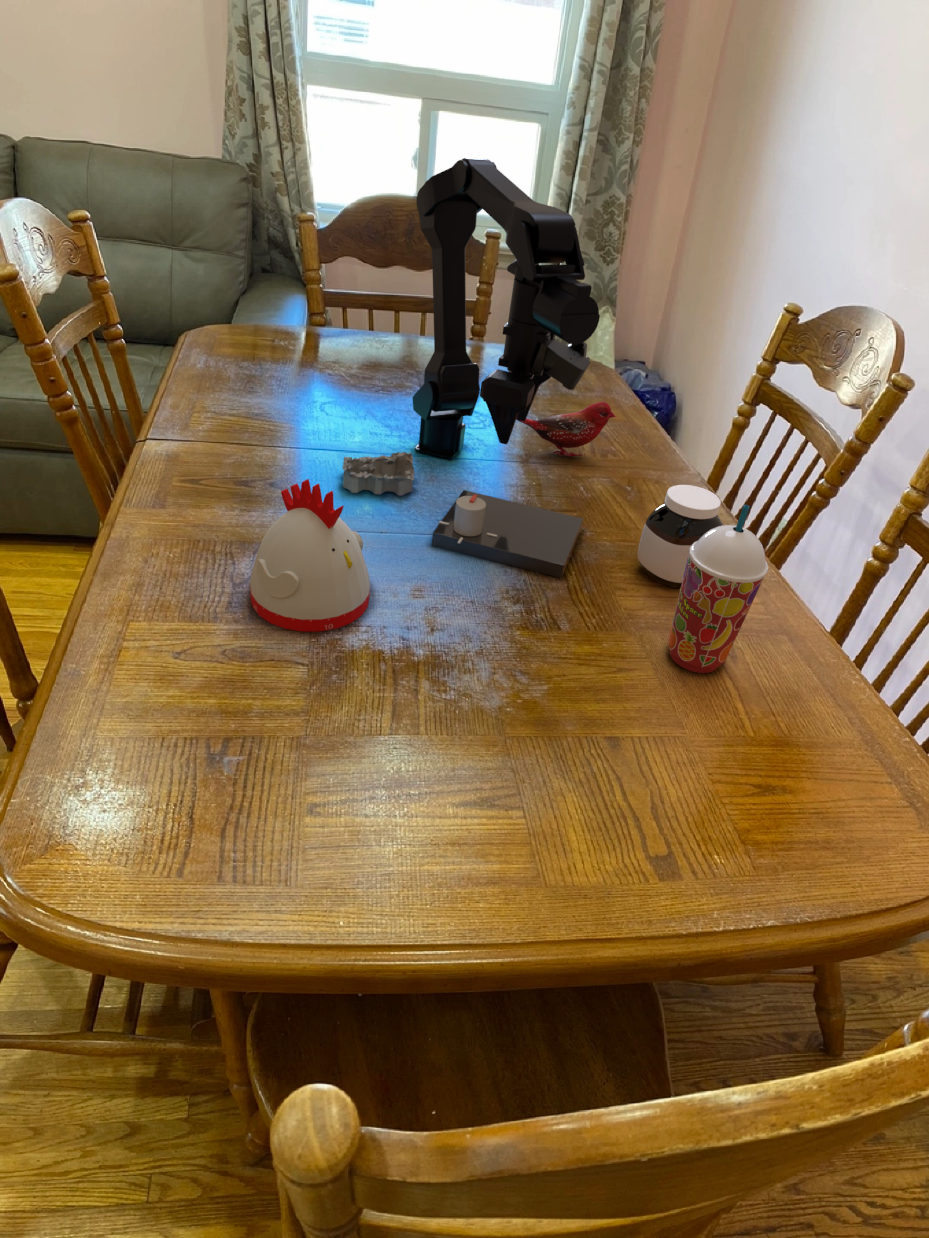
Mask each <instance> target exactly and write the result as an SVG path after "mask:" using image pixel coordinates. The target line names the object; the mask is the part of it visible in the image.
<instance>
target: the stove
mask: <svg viewBox="0 0 929 1238" xmlns="http://www.w3.org/2000/svg"><path fill="white" fill-rule="evenodd" d="M473 495H477V497H478V498H480V499H482V500H484V501H485V503H486V510H485V517H484V524H483V531H482V533H481V534H480V535H477V536H463V535H460V534H458V533H456V532H455V531H454V529H453V524H454V515H455V507H456V500H455V501H454V503H452V505H451V507H450V508H449V509H448V511H447V512H446V514H444V517H442V519H441V520H439V521H438V525H437V526H436V527H435V528H434V530H433V532H432V538H431V546H432V547H433V546H434V547H437V548H441V549H446V550H449V551H452V552H456V553H461V554H464V555H469V556H472V557H476V558H481V559H484V560H488V561H492V562H497V563H499V564H504V565H508V566H512V567H516V568H520V569H524V570H528V571H530V572H531V571H532V572H535V573H540V574H544V575H546V576H551V577H556V578H560V579H562V578H563V576H564V573H565V571H566V568H567V566H568V563H569V561H570V559H571V556H572V553H573V551H574V549H575V546H576V544H577V541H578V538H579V535H580V534H581V531H582V526H583V523H584V518H583V517H578V516H574V515H571V514H566V513H562V512H557V511H553V510H550V509H545V508H540V507H538V506H532V505H528V504H524V503H520V502H516V501H512V500H507V499H504V498H499V497H495V496H490V495H487V494H482V493H478V492H474V491H471V490H466V489H463V491H462V492H461V493H460V494H459V496H458V497H457V499H458V498H460V497H463V496H473Z"/></svg>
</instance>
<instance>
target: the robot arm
mask: <svg viewBox="0 0 929 1238" xmlns="http://www.w3.org/2000/svg"><path fill="white" fill-rule="evenodd" d="M416 210H417V212H418V218H419V227H420V230H421V233H422V235H423V236H424V237H425V239H426V241H427V243H428V245H429V247H430V248H431V265H432V266H431V267H432V269H431V270H432V271H431V272H432V300H433V301H432V304H433V305H432V306H433V307H432V309H433V310H432V311H433V341H434V342H433V345H434V347H433V353H432V355H431V357H430V359H429V361H428V363H427V365H426V366H425V368H424V376H423V384H422V385H421V386H420V387H419V389H418V390H416V392H415V393H414V394H413V395H412V409H413V412H414V413H416V414H417V415H418V416H420V423H419V424H420V425H419V436H418V437H419V438H418V443H417V445H416V446H414V451H415V452H416V453H422V454H427V455H430V456H435V457H438V458H443V459H447V460H453V459H454V458H455V456H456V455H457V454H458V453H460V452H461V450H462V449H463V448H464V443H465V433H466V423H464V417H472V416H473V414H474V412H475V408H476V406H477V403H478V400H479V397H480V398H481V399H482V401H483V402H484V403H485V405H486V406H487V409H488V412H489V415H490V417H491V420H492V423H493V426H494V429H495V430H494V431H495V433H496V436H497V439H498V442H499V444H503V445H508V443H509V441H510V439H511V435H512V433H513V430H514V428H515V424H516V421H518V420H521V421H525V420H526V418H527V417H528V415H529V412H530V410H531V407H532V405H533V403H534V400H535V398H536V395H537V393H538V391H539V388H540V387H541V385H543V384H544V383H546V381H549V379H551V378H552V379H553V380H556V381H557V382H559V383H560V384H562V387H564V389H567V390H570V391H574V390H575V388H576V387H577V385H578V384H579V383H580V381H581V379H582V378H583V376H584V375H585V372H586V371H587V370H588V368H589V366H590V365H591V361H590V357H589V356H587V353H588V343H586V341H588V340H589V339H590V338H592V336H593V334H594V333H595V331H596V329H597V328H598V326H599V323H600V318H601V315H600V310H599V309H600V308H599V305H598V303H597V301H596V300H595V299H594V298H593V297H592V296H591V293H592V288H593V287H592V285H591V284H589V283H587V282H582V281H584V280H585V278H586V274H585V268H584V266H585V264H586V263H585V261H584V258H583V255H582V252H581V246H580V241H579V235H578V231H577V227H576V222H575V219H574V218H573V216H572V215H571V213H569V212H567V211H564V210H562V209H561V208H557V207H555V206H553V205H552V206H551V205H548V204H545V203H540V202H537V201H535V200H533V199H532V198H531V197H530V196H529V195H528V194H526V193H525V192H524V191H523V190H522V189H521V188H519V186H517V185H516V184H515V183H514V182H513V181H512V180H511V179H510V178H508V177H507V176H506V175H505V174H504V173H502V172H501V171H500V170H499V169H498V167H497V165H496V163H495V162H493V161H491V160H490V159H487V158H475V157H474V158H473V157H472V158H471V157H464V158H461V159H458V160H457V161H456V162H455V163H454V164H453V165H452V166H451V167H449V168H447V169H445V170H443V171H441V172H438V173H435V174H434V175H432V176H431V177H430V178H429V179H427V180H425V182H424V184H423V185H422V186H421V187H420V188H419V190H418V191H417V195H416ZM482 210H483V211H484V212H485V213H486V214H487V215H488V216H489V217H490V218H491V219H493V221H494V222H496V223H497V224H498V225H499V226H500V227H501V228H502V230H504V232H505V233H506V234H505V244H506V246H507V248H508V249H509V250H510V252H511V254H512V255H513V256H514V258H515V260H514V261H513V262H511V263H510V264H509V265H507V267H506V270H507V272H508V273H509V274H512V275H513V276H514V278H513V285H512V291H511V298H510V306H509V312H508V319H507V323H505V324H504V325H503V328H502V335H505V340H504V348H503V353H502V354H501V356H500V357H498V364H497V366H499V367H503V368H506V370H503V369H499V368H497V369H495V370H493V371H492V372H490V373H489V374H488V375H487V376H486V377H485V378H484V379H483V380H482V381H481V382H480V368H479V365H478V363H474V362H473V360H472V359H471V357H470V356H469V354H468V352H467V299H466V298H467V296H466V295H467V293H466V292H467V291H466V287H467V286H466V282H467V281H466V248H467V246H468V244H469V242H470V240H471V239H472V236H473V234H474V232H475V230H476V229H477V219H478V218H477V217H478V214H479V213H480V212H481V211H482ZM556 337H557V338H559V339H560V340H562V341H564V342H561V341H559V340H558V339H556ZM516 419H518V420H516Z"/></svg>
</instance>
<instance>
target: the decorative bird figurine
mask: <svg viewBox="0 0 929 1238" xmlns="http://www.w3.org/2000/svg"><path fill="white" fill-rule="evenodd" d="M612 418H617V416H616V414H615V413H614V412H613V411H612V408H611V406H610V404H609V403H608V402H605V401H600V402H596V403H592V404H590V405H588V406H587V407H585V408H583V409H582V410H580V411H575V412H570V413H562V414H556V415H551V416H547V417H543V418H541V419H536V420H535V419H530V418H527V417H526V420H525V421H521V420H518V419H516V421H517V422H520V423H522V424H524V425H526V426H528V427H530V428H531V429H532V430H534V432H535V433H537V435H538V436H539V437H540V438H541V439H543V440H545V441H546V442H549V443H551V444H553V445H554V446H555V447H556V448H557V449H558V450H556V451H553V452H552V454H556V455H557V456H565V457H569V458H572V457H584V455H583V454H580V453H579V454H577V453H574V452H572V451H571V452H570V451H567V450H566V449H574V448H579V447H582V446H585V445H588V444H589V443H591V442H592V441H593V440H595V439H596V438H597V437H598V436H599V435H600V433H601V432H602V430H603V429H604V428H605V426H606V425H607V424H608V422H609V420H610V419H612Z"/></svg>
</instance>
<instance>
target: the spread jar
mask: <svg viewBox="0 0 929 1238" xmlns="http://www.w3.org/2000/svg"><path fill="white" fill-rule="evenodd" d="M721 505H722V502H721V499H720V498H719V497H718V495H716V494H715V493H714V492H712V491H710V490H708V489H706V488H703V487H700V486H696V485H691V484H676V485H672V486H670V487H669V488H668V489H667V491H666V494H665V498H664V502H662V503H661V504H659V505H658V506H657V507H656V508H655V509H654V510H653V511H652V512H651V513H650V514H649V515H648V517H647V519H646V520H645V522H644V525H643V528H642V532H641V535H640V539H639V542H638V547H637V552H636V553H637V554H636V555H637V557H636V558H637V561H638V563H639V566H640V567H641V568H642V570H643V571H644V572H645V574H647V575H648V576H649V578H651V580H653V581H655V582H656V583H658V584H661V585H662V586H666V587H671V588H676V589H677V588H678V589H681V585H682V580H683V576H684V572H685V568H686V563H687V559H688V555H689V549H690V547H691V545H692V544H693V543H694V542H696V541H698V540H699V539H700V538H701V537H702V536H703V535H704V534H705V533H706V532H708V531H709V530H711V529H713V528H716V527H718V526H723V525H724V524H723V522H722V520H721V518H720V517H719V515H718V514H719V510H720V507H721Z"/></svg>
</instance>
